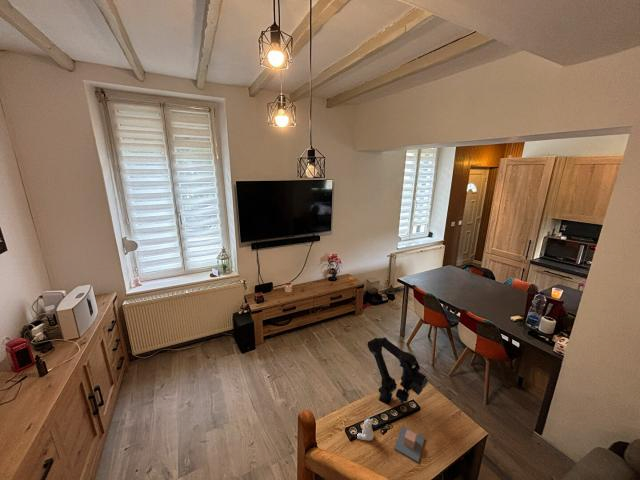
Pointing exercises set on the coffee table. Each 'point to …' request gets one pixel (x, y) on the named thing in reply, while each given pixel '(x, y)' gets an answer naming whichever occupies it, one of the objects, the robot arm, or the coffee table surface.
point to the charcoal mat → (406, 450)
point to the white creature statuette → (366, 431)
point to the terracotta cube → (410, 439)
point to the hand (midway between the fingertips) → (404, 397)
